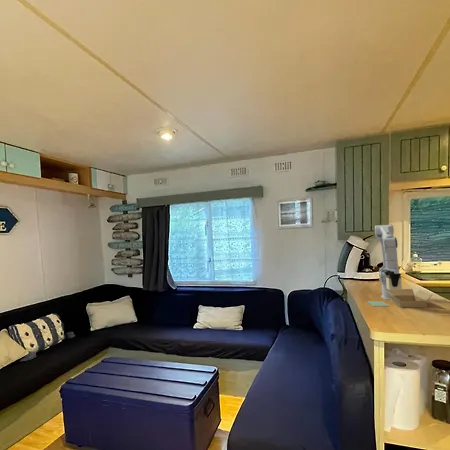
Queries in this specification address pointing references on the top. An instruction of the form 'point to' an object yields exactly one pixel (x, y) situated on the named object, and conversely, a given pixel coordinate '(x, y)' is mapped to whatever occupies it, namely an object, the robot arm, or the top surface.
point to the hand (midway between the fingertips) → (393, 285)
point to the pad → (378, 303)
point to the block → (389, 284)
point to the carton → (409, 298)
